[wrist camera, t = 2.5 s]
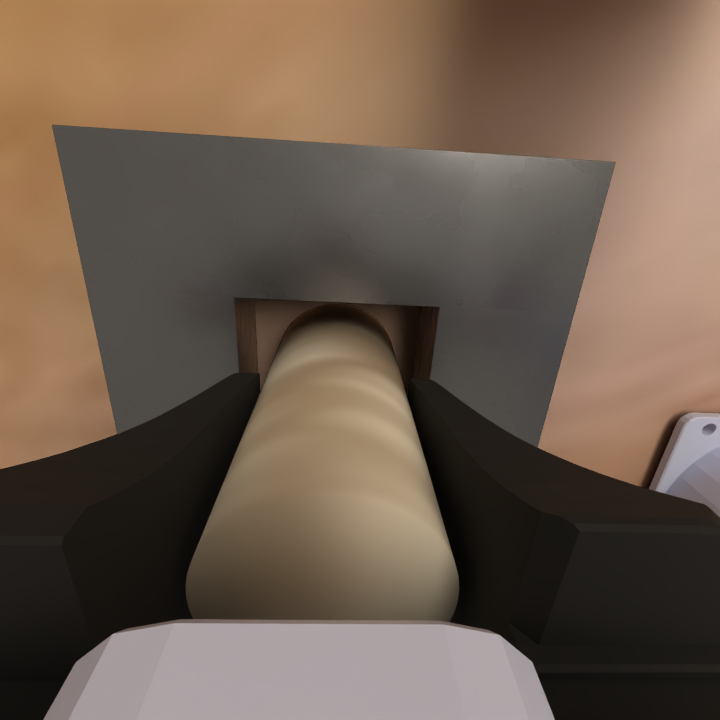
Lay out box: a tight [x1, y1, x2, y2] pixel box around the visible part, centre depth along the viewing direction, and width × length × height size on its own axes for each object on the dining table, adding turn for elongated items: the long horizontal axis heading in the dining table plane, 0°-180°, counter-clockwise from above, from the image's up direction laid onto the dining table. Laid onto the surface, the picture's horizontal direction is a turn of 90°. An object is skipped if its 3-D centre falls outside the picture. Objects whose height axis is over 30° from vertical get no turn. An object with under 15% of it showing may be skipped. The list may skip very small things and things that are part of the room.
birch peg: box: [186, 304, 459, 622], centre depth 10 cm, size 4×4×9 cm
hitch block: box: [52, 125, 616, 447], centre depth 13 cm, size 13×13×2 cm
